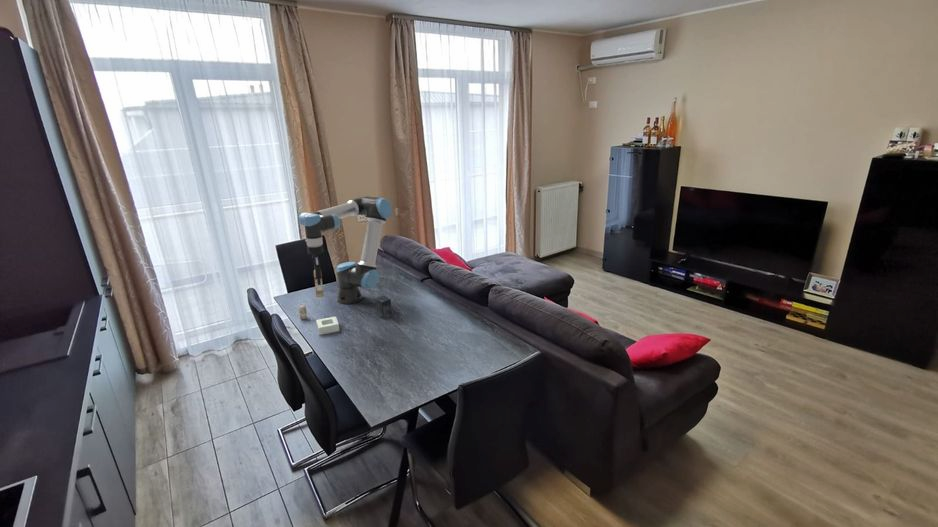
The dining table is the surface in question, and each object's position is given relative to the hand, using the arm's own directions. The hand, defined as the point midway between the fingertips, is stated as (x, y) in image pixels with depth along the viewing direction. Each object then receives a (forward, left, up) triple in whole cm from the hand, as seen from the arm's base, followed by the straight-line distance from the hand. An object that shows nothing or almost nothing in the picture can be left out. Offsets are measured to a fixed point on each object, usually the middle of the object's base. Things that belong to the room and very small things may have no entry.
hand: (319, 288), depth 212 cm
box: (+2, +32, -22) cm, 39 cm away
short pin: (-14, -9, -21) cm, 27 cm away
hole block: (+5, +1, -21) cm, 22 cm away
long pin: (0, 0, -4) cm, 4 cm away
